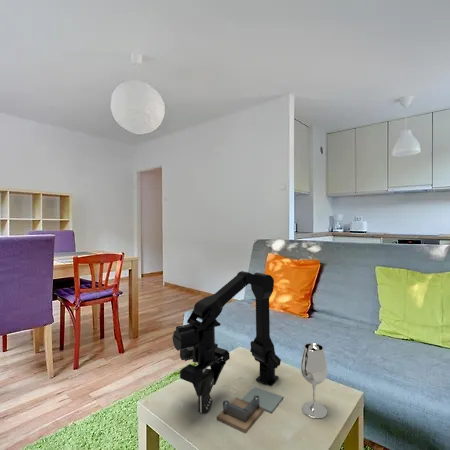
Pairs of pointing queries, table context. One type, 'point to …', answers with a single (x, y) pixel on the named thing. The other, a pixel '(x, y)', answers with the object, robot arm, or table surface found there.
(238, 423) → the rail board
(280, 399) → the end mat
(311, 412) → the wineglass
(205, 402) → the battery charger
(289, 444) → the table surface
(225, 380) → the table surface
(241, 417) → the bent rail
